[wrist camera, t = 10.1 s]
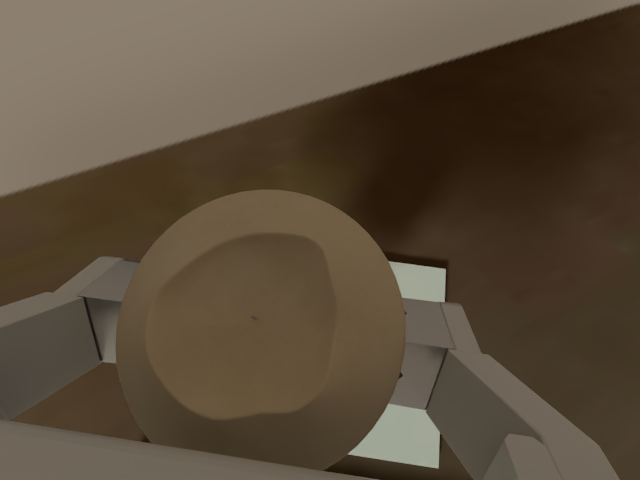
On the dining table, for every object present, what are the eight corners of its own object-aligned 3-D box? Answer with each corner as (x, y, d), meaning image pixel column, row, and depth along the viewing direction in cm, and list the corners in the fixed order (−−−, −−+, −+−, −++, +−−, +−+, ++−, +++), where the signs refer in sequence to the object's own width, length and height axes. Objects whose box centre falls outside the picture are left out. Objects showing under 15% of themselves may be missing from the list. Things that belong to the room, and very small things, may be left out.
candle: (302, 247, 16) (275, 97, 7) (387, 344, 15) (506, 335, 5) (202, 328, 15) (-7, 293, 5) (283, 440, 14) (198, 645, 4)
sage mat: (145, 418, 22) (139, 421, 22) (192, 237, 26) (188, 234, 25) (434, 464, 22) (438, 468, 21) (442, 271, 25) (445, 269, 24)
